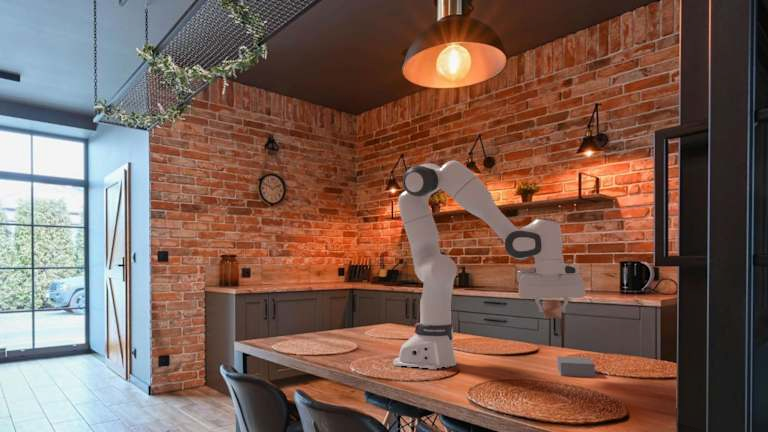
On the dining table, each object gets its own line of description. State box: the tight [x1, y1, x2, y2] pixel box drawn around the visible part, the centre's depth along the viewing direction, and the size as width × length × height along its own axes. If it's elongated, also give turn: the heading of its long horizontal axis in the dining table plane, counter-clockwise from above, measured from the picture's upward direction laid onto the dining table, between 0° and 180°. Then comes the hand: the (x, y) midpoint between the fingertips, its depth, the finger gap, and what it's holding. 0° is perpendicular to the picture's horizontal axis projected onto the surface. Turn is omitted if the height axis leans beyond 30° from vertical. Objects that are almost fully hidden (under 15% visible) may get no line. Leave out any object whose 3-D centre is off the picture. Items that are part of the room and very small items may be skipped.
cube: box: [542, 300, 562, 319], centre depth 156 cm, size 5×5×5 cm
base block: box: [557, 356, 596, 378], centre depth 158 cm, size 10×10×4 cm
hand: (552, 312), depth 156 cm, fingers closed on cube, 5 cm apart
